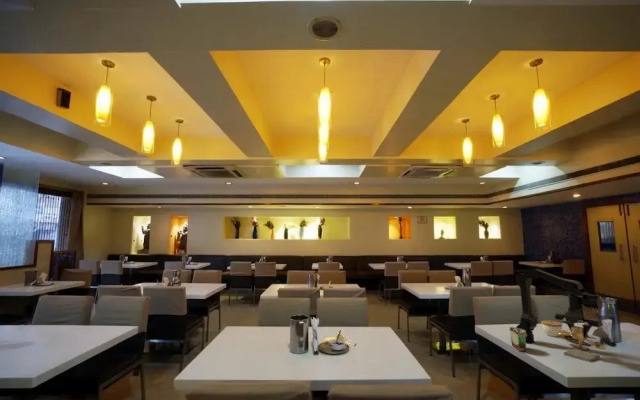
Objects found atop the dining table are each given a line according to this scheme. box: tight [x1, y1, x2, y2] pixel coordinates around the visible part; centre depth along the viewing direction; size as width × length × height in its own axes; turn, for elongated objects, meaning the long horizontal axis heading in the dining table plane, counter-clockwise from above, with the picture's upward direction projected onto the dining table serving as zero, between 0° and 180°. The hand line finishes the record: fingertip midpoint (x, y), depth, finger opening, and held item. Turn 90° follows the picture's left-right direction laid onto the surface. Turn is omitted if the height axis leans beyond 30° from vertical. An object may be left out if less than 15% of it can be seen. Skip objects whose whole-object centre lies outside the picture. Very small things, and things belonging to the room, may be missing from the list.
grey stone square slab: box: [563, 348, 601, 363], centre depth 158 cm, size 11×11×1 cm
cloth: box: [324, 331, 352, 344], centre depth 183 cm, size 22×19×6 cm
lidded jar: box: [540, 319, 563, 338], centre depth 194 cm, size 11×11×9 cm
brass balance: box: [557, 329, 607, 352], centre depth 170 cm, size 22×6×8 cm, turn 28°
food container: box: [509, 326, 527, 353], centre depth 170 cm, size 12×6×10 cm, turn 168°
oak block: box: [570, 325, 588, 342], centre depth 160 cm, size 4×4×6 cm
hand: (579, 336), depth 160 cm, fingers closed on oak block, 4 cm apart
